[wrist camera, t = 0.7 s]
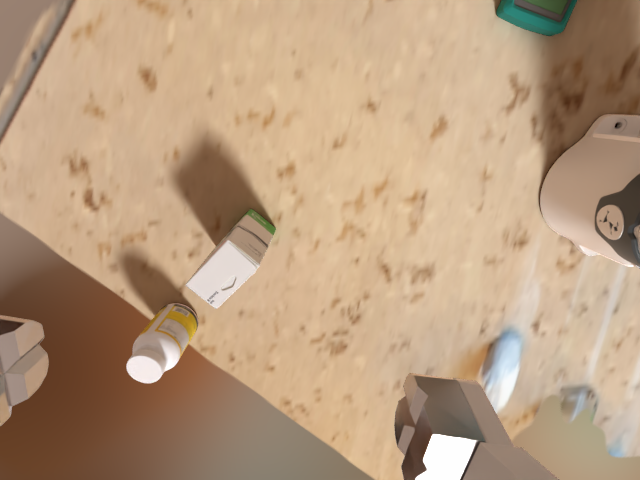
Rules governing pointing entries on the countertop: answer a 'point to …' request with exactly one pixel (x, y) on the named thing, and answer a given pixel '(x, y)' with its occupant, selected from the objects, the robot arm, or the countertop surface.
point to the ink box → (233, 259)
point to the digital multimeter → (537, 14)
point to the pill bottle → (162, 342)
